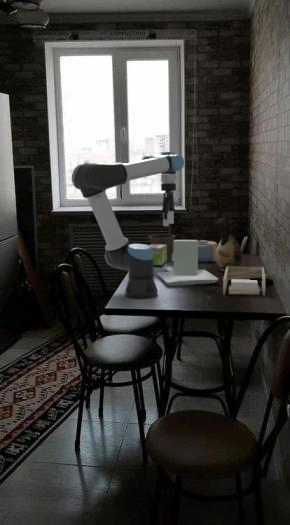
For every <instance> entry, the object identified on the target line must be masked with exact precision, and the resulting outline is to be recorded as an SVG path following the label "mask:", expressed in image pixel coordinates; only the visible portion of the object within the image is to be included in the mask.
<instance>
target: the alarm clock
mask: <svg viewBox="0 0 290 525" xmlns="http://www.w3.org/2000/svg"><path fill="white" fill-rule="evenodd" d="M217 246H218V243H217V242H215V241H212V240H207V239H206V240H205V239H204V240H203V239H200V240H198V263H199V262H204V263H205V262H206V263H207V262H216V260H215V253H216V249H217Z"/></svg>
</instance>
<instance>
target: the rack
mask: <svg viewBox="0 0 290 525" xmlns="http://www.w3.org/2000/svg"><path fill="white" fill-rule="evenodd" d="M245 277H262V281H261V289H262V291H261V292H262V296H266V274H265V267H264V266H239V267H226V270H225V271H224V276H223V278H222V280H223V282H222V286H223V287H222V291H223V292H222V294H223V295H226V293H227V288H228V284H229V283H228V282H229V281H231V280H232V279H243V278H245Z"/></svg>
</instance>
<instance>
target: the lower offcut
mask: <svg viewBox="0 0 290 525" xmlns="http://www.w3.org/2000/svg"><path fill="white" fill-rule="evenodd" d="M260 290H261V289H260V286H259V285H258V289H231V285H228V294H229V295H260Z"/></svg>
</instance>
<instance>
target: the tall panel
mask: <svg viewBox="0 0 290 525" xmlns="http://www.w3.org/2000/svg"><path fill="white" fill-rule="evenodd" d="M198 241H199V240H198V239H174V241H173V271H174V275H175V276H197V275H198V270H199V268H198V267H199V265H198V263H199V262H198Z"/></svg>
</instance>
